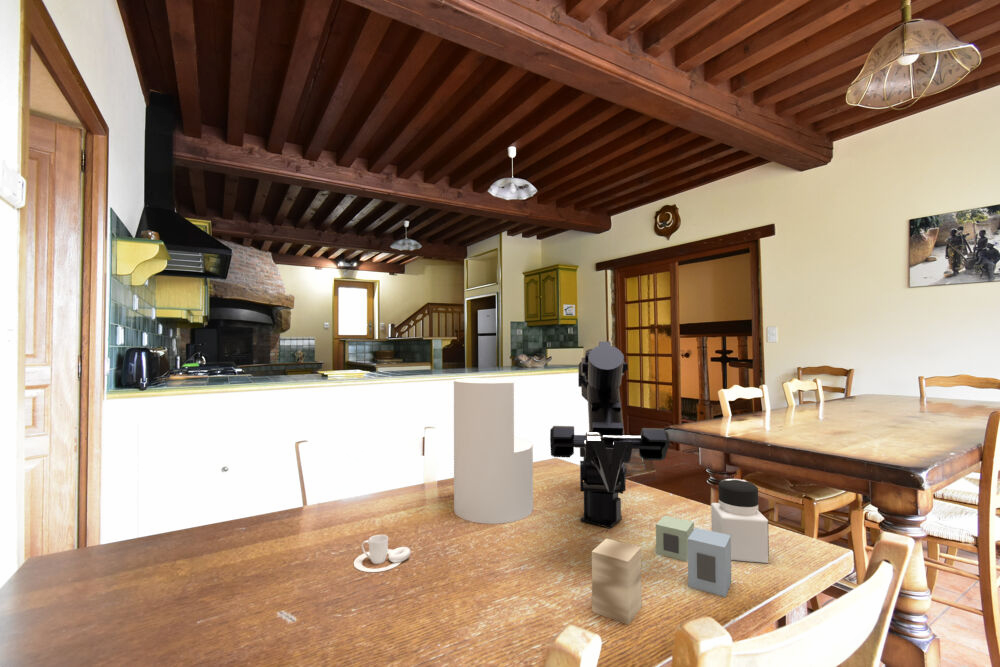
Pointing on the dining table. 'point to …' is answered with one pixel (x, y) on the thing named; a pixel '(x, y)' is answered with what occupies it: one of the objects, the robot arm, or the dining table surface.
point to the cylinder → (489, 454)
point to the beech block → (616, 580)
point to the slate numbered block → (709, 561)
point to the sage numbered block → (673, 537)
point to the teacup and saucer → (381, 554)
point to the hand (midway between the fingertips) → (611, 491)
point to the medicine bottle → (741, 521)
